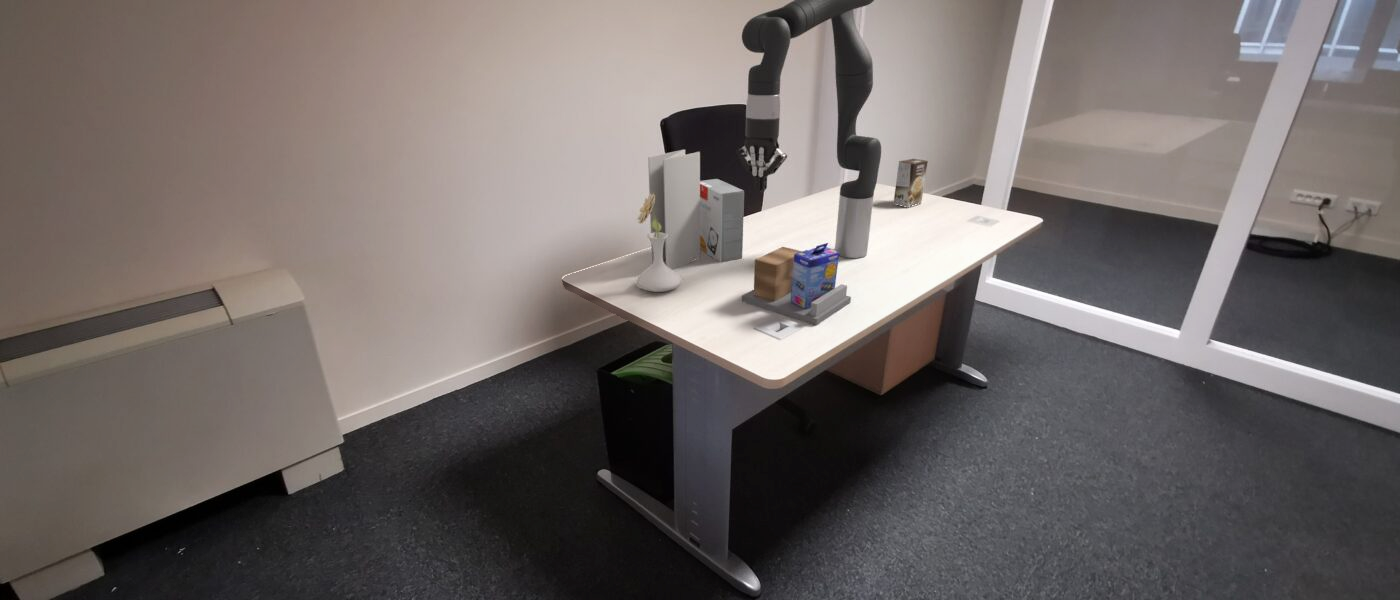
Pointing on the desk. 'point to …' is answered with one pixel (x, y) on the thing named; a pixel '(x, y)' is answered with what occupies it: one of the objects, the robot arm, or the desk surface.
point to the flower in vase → (656, 257)
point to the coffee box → (910, 182)
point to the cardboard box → (774, 273)
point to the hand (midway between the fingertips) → (759, 191)
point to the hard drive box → (721, 220)
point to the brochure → (676, 204)
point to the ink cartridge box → (813, 274)
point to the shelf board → (812, 315)
